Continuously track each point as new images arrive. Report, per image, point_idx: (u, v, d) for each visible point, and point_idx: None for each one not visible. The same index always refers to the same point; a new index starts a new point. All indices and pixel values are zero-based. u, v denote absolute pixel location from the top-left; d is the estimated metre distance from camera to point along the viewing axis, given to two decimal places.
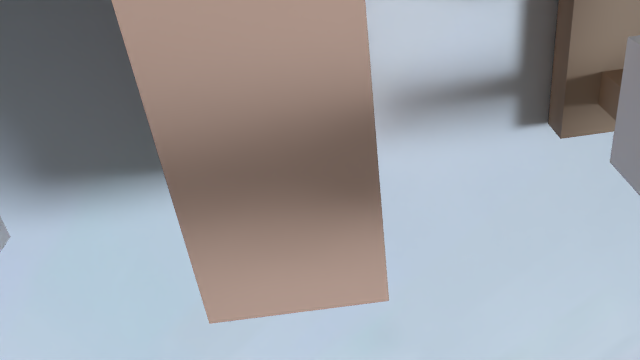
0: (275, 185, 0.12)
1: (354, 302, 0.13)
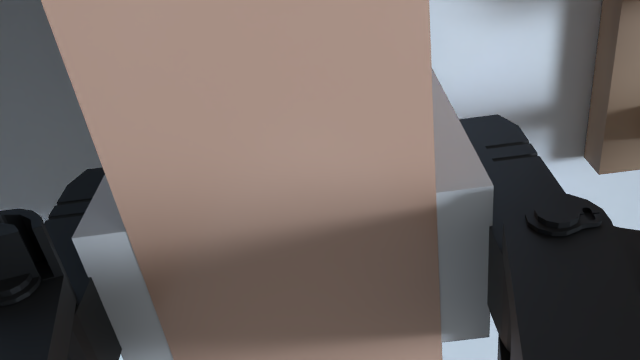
0: (302, 327, 0.09)
1: None
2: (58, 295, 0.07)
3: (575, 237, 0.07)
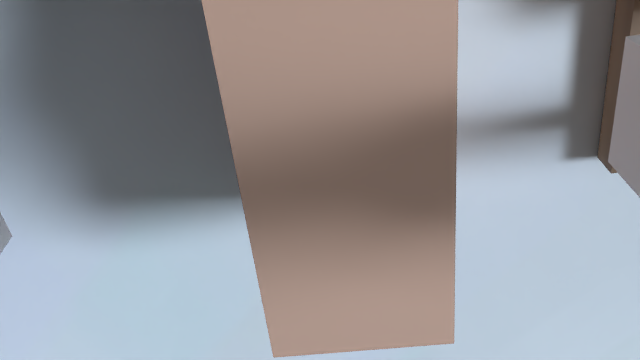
0: (351, 226, 0.12)
1: (418, 343, 0.13)
2: None
3: None
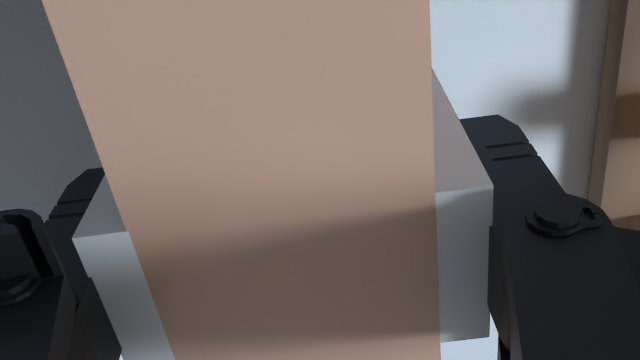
0: None
1: None
2: (58, 295, 0.07)
3: (574, 237, 0.07)
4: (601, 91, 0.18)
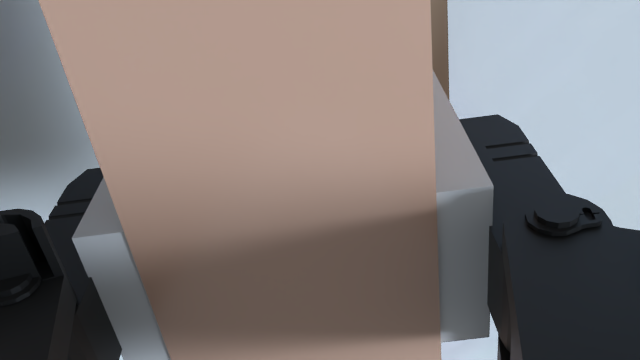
0: None
1: None
2: (58, 295, 0.07)
3: (575, 237, 0.07)
4: None
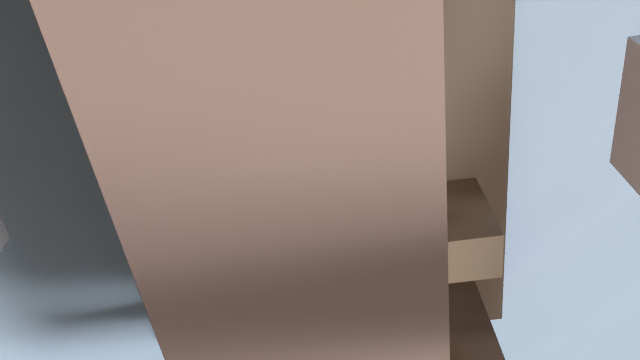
0: None
1: None
2: None
3: None
4: None
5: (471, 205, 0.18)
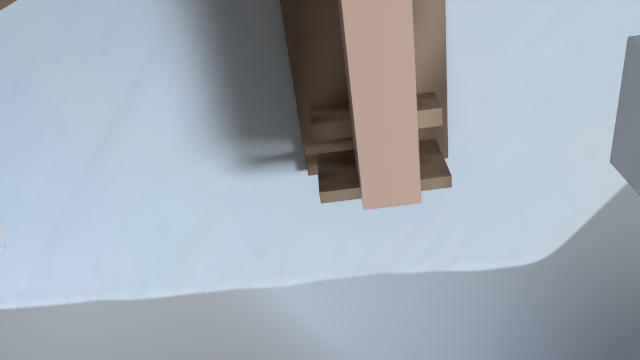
0: (389, 164, 0.40)
1: (410, 203, 0.42)
2: None
3: None
4: None
5: (431, 100, 0.47)
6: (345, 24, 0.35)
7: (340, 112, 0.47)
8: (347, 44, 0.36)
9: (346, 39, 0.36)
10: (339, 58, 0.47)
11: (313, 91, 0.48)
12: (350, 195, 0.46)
